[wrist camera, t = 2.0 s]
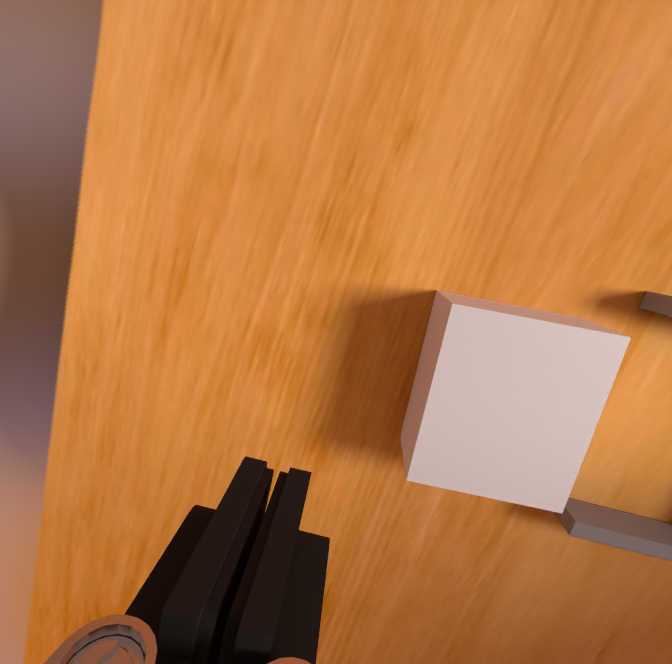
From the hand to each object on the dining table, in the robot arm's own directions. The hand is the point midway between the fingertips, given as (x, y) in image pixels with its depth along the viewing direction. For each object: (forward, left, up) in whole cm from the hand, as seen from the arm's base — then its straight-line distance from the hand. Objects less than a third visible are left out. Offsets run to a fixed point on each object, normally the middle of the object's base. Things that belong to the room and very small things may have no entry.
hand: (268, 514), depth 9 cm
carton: (-10, 0, -16) cm, 19 cm away
